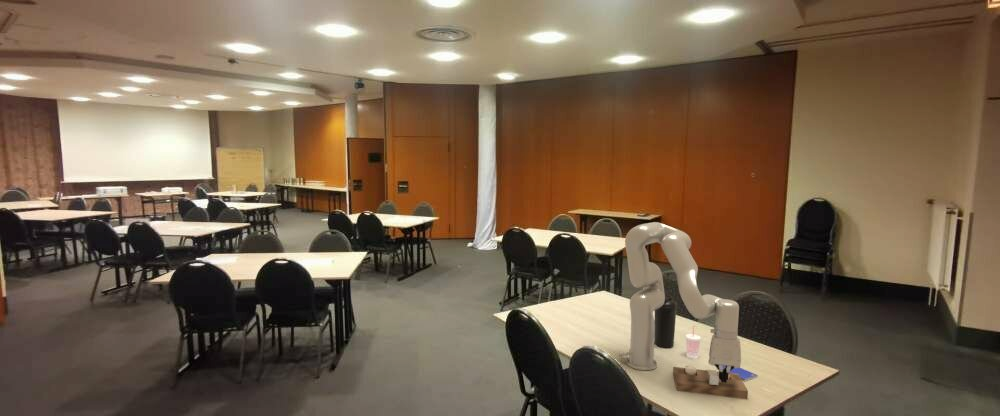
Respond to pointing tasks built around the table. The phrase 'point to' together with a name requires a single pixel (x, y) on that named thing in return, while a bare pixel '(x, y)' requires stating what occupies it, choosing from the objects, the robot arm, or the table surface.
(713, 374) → the grey block
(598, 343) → the table surface
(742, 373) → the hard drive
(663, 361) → the table surface
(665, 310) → the water bottle
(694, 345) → the beverage cup
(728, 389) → the panel
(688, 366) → the cream button
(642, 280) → the robot arm
